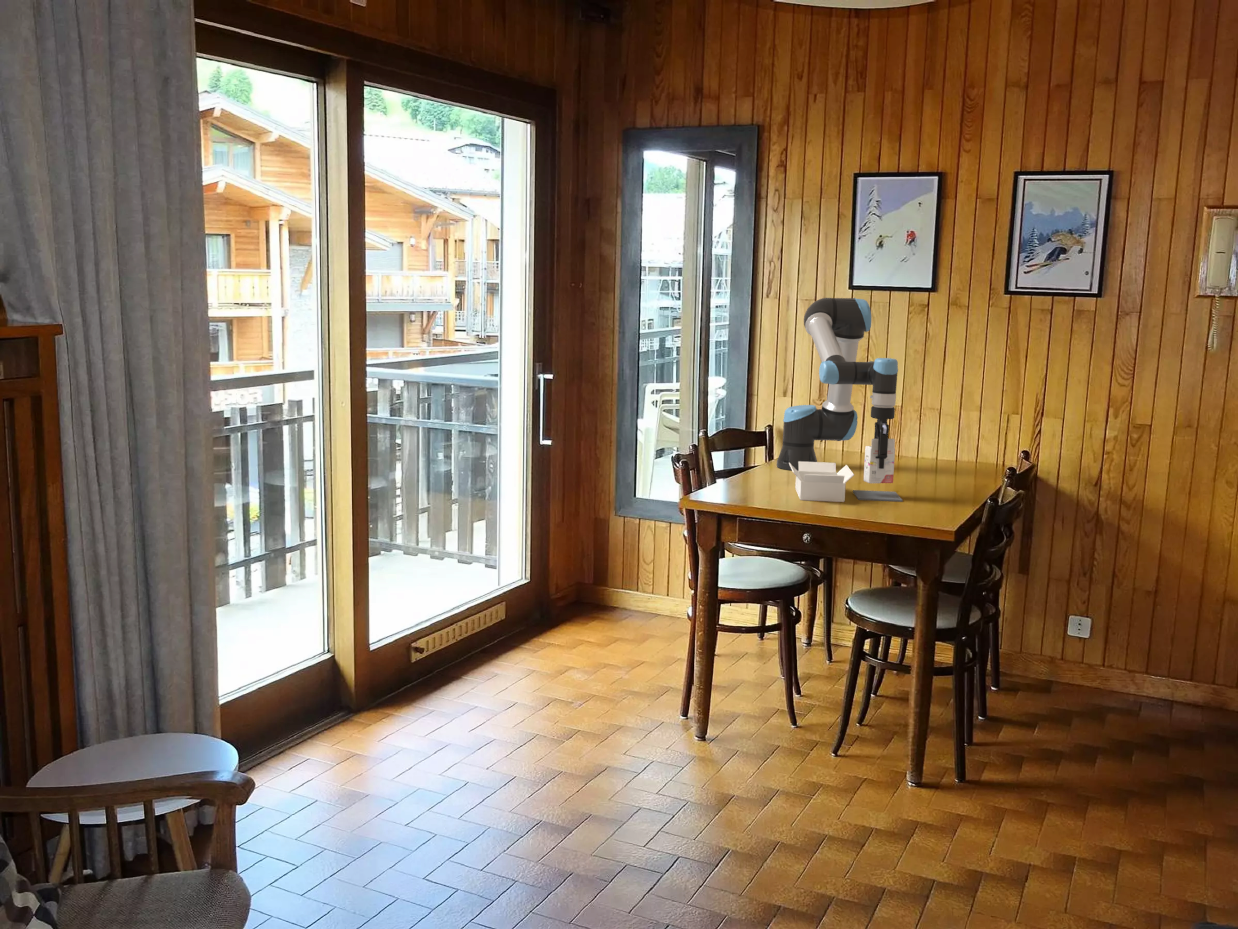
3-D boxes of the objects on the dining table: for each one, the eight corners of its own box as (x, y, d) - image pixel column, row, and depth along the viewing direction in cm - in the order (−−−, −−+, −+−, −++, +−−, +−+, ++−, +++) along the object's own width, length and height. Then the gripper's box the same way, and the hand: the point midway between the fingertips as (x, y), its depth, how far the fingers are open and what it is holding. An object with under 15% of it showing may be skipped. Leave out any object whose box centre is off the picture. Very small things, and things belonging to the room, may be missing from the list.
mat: (852, 491, 374) (852, 490, 374) (895, 493, 373) (895, 491, 373) (858, 499, 361) (858, 498, 361) (902, 501, 360) (902, 499, 360)
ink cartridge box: (887, 480, 370) (890, 436, 367) (893, 483, 365) (896, 438, 362) (862, 480, 368) (865, 436, 365) (868, 483, 363) (871, 438, 361)
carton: (786, 486, 380) (788, 460, 379) (844, 489, 379) (845, 463, 377) (792, 501, 355) (793, 473, 354) (854, 503, 354) (855, 476, 352)
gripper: (867, 402, 372) (862, 471, 375) (875, 409, 353) (871, 481, 357) (890, 403, 371) (885, 472, 375) (899, 409, 353) (894, 482, 356)
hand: (878, 476), depth 366 cm, fingers closed on ink cartridge box, 6 cm apart
